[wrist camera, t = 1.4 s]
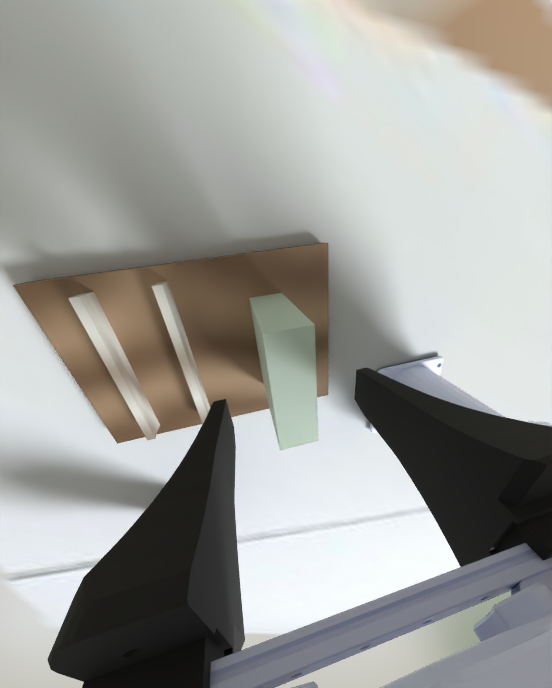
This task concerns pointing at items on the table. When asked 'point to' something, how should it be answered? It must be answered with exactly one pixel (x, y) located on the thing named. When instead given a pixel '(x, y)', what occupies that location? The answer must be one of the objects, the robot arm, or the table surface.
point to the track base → (176, 334)
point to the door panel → (287, 367)
